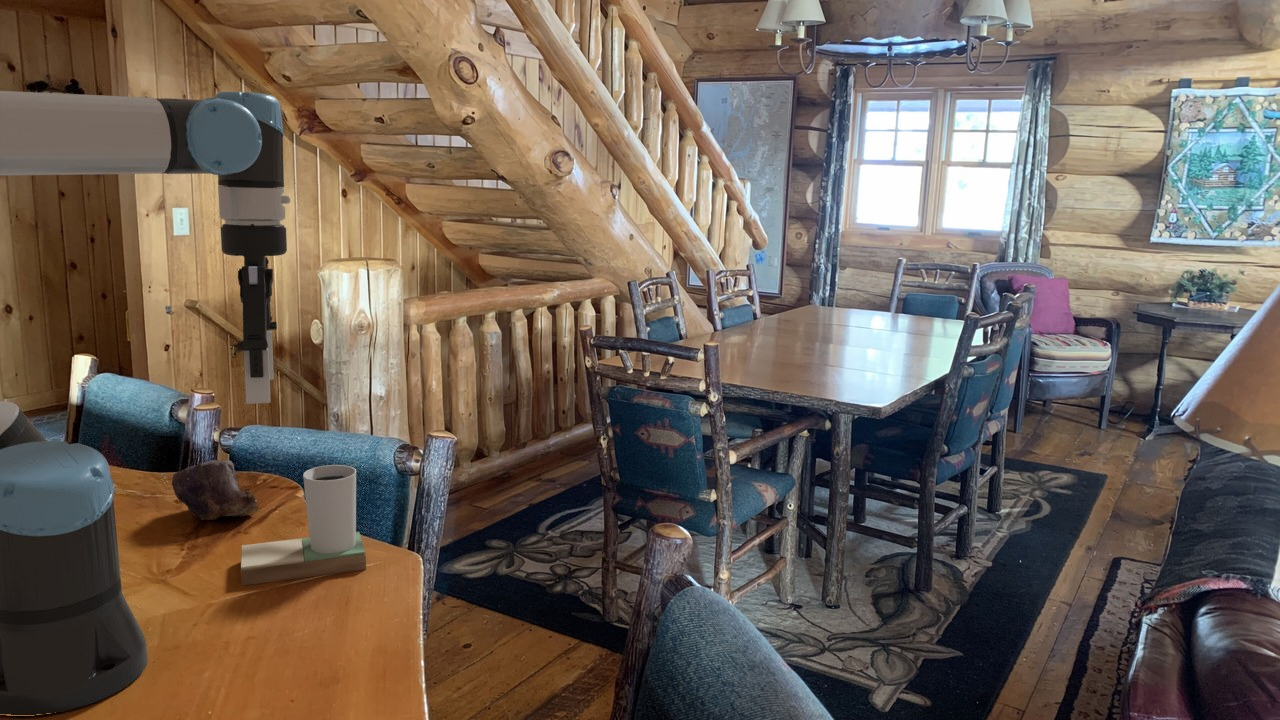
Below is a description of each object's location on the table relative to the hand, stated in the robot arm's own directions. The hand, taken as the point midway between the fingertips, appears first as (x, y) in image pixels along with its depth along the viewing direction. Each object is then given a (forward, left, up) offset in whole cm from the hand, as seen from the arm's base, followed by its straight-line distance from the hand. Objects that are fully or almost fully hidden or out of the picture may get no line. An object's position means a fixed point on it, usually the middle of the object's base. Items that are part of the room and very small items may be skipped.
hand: (260, 390), depth 121 cm
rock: (+20, +8, -24) cm, 32 cm away
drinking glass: (-3, -8, -21) cm, 23 cm away
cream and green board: (-3, -4, -23) cm, 24 cm away
